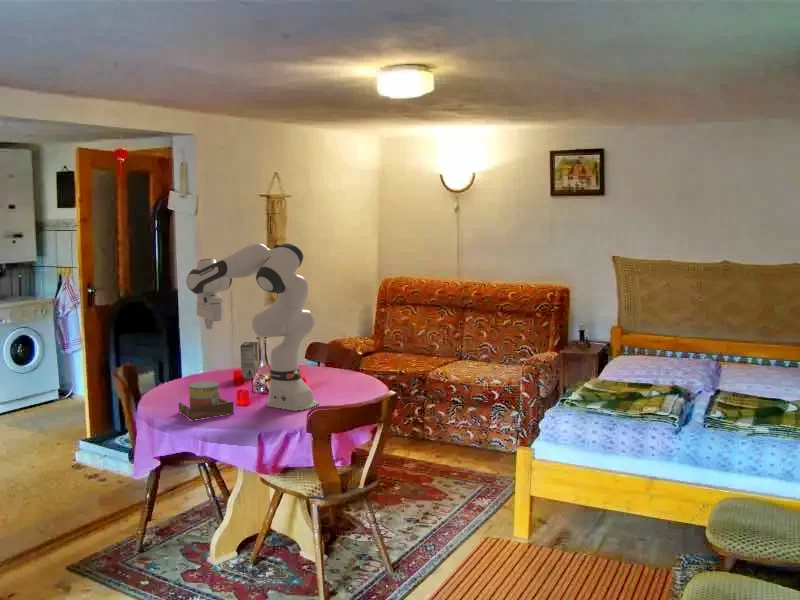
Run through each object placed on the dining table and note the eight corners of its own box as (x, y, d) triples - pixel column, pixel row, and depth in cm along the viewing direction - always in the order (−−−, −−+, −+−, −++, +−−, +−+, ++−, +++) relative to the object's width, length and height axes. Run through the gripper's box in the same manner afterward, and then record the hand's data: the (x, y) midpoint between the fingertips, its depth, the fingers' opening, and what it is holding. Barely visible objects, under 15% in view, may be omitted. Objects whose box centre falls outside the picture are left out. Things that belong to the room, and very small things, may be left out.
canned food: (212, 418, 294) (211, 388, 292) (185, 417, 296) (183, 387, 294) (224, 410, 305) (223, 381, 303) (197, 409, 307) (196, 380, 305)
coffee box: (245, 374, 366) (244, 341, 363) (258, 374, 365) (257, 341, 363) (241, 379, 356) (240, 345, 354) (254, 379, 356) (253, 345, 354)
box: (179, 412, 302) (178, 400, 301) (220, 405, 312) (219, 394, 311) (191, 421, 290) (191, 408, 290) (233, 414, 300) (233, 402, 299)
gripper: (192, 294, 329) (193, 326, 330) (209, 300, 312) (210, 333, 314) (206, 293, 332) (207, 324, 334) (224, 298, 315) (225, 331, 317)
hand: (209, 328), depth 324 cm, fingers closed
